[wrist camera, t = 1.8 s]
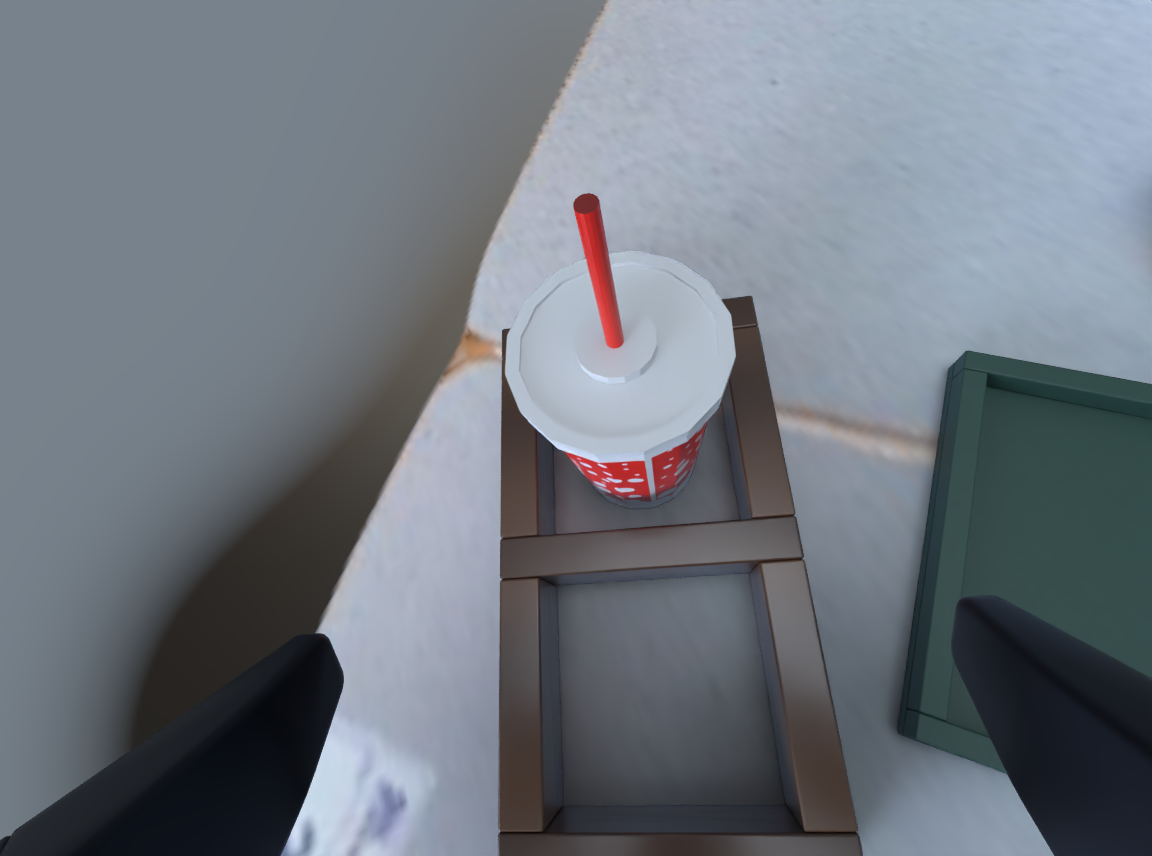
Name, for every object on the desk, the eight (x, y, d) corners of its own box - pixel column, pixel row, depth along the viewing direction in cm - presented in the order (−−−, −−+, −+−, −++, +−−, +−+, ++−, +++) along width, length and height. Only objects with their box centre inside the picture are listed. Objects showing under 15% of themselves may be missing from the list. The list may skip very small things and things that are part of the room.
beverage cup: (691, 372, 24) (706, 46, 11) (734, 508, 21) (819, 295, 8) (554, 407, 24) (413, 135, 11) (581, 544, 22) (440, 394, 9)
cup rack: (841, 858, 17) (872, 899, 14) (523, 855, 18) (496, 892, 16) (744, 334, 24) (752, 294, 21) (520, 363, 25) (501, 328, 23)
